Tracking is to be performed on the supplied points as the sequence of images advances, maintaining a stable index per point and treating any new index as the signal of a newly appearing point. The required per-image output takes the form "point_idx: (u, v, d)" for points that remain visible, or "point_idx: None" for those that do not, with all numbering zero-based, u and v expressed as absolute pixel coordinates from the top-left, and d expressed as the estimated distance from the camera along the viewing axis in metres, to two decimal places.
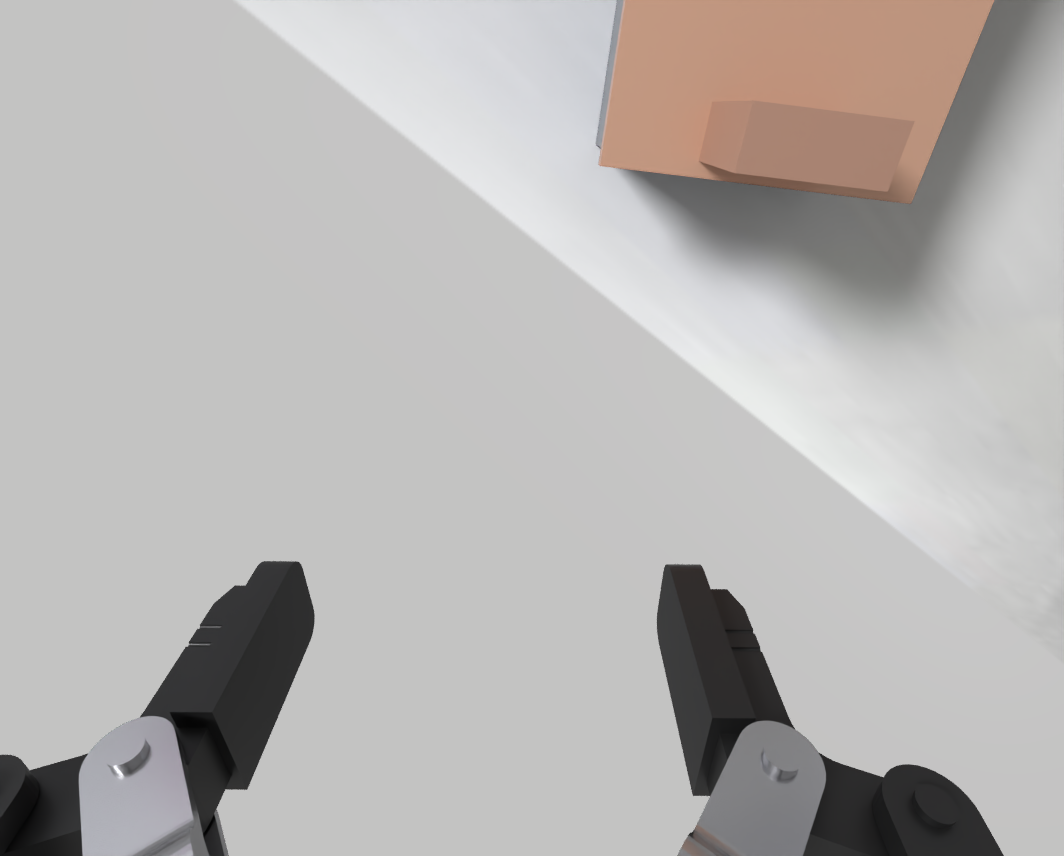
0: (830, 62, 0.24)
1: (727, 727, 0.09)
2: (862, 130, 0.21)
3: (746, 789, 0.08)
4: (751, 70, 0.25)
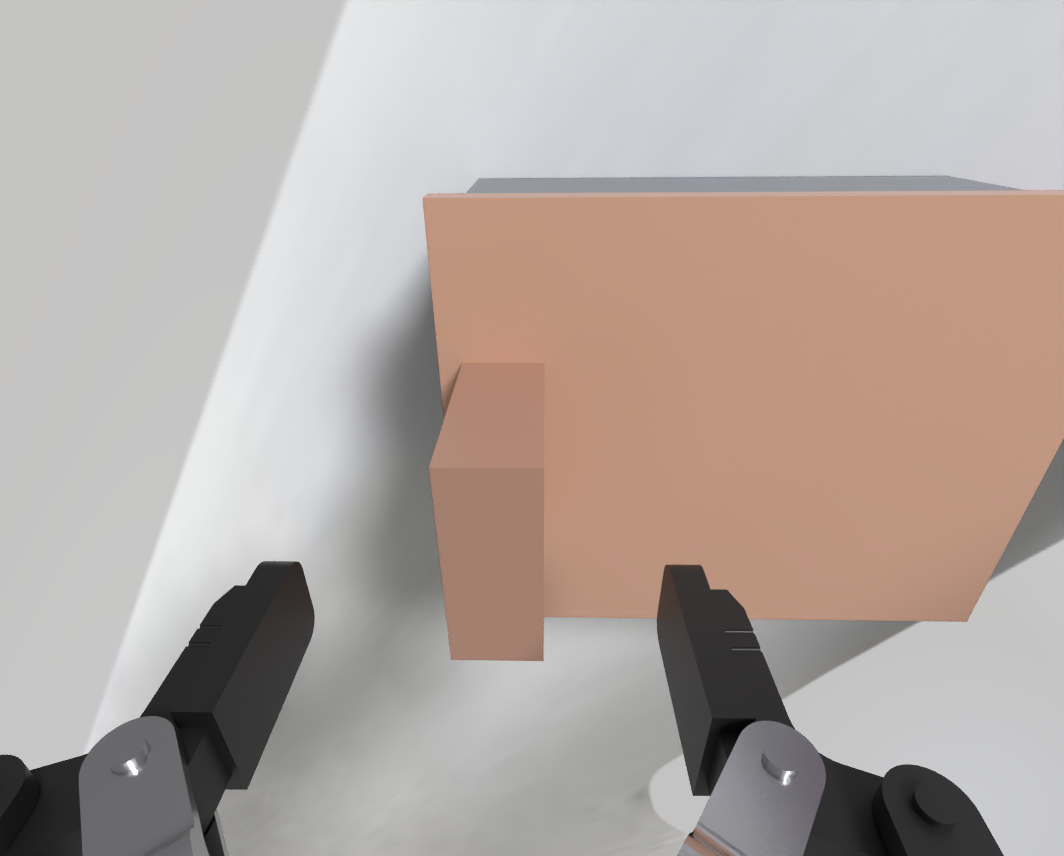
0: (604, 492, 0.19)
1: (727, 727, 0.09)
2: (522, 612, 0.14)
3: (746, 789, 0.08)
4: (588, 404, 0.17)
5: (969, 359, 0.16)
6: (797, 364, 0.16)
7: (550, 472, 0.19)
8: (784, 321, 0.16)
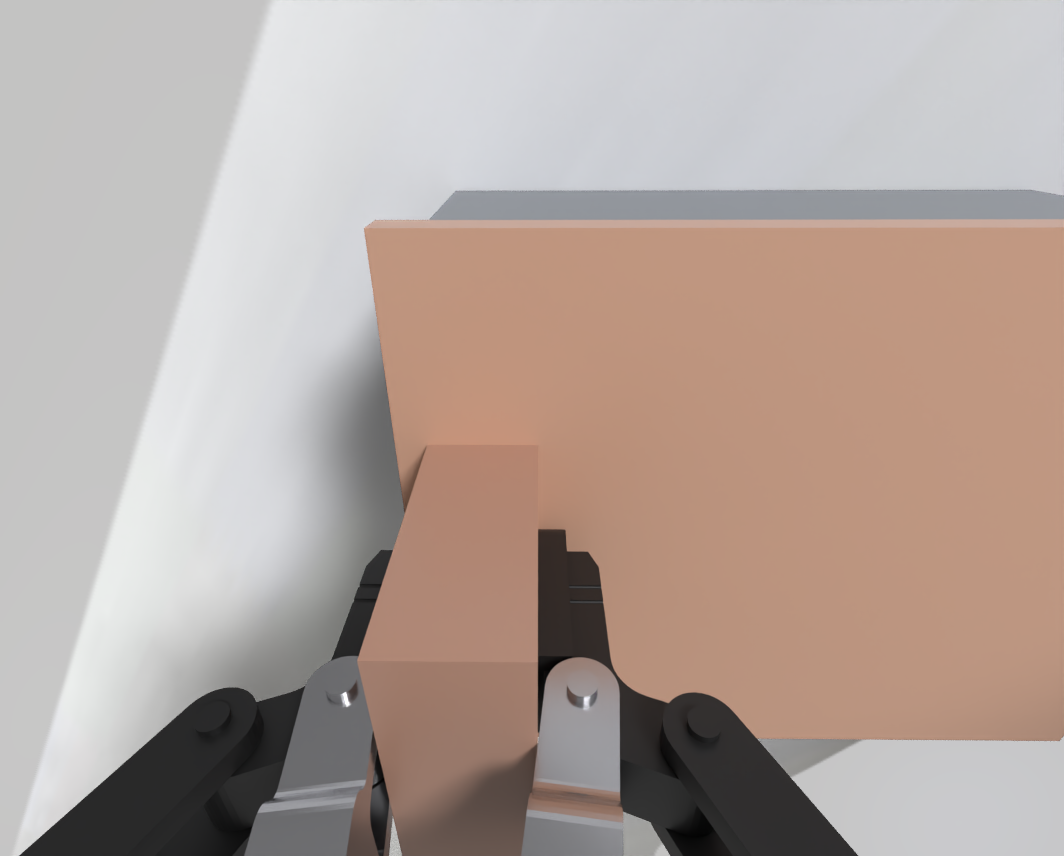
0: (615, 600, 0.15)
1: (549, 665, 0.10)
2: (507, 828, 0.10)
3: (544, 712, 0.09)
4: (596, 496, 0.13)
5: None
6: (876, 448, 0.12)
7: None
8: (864, 394, 0.12)
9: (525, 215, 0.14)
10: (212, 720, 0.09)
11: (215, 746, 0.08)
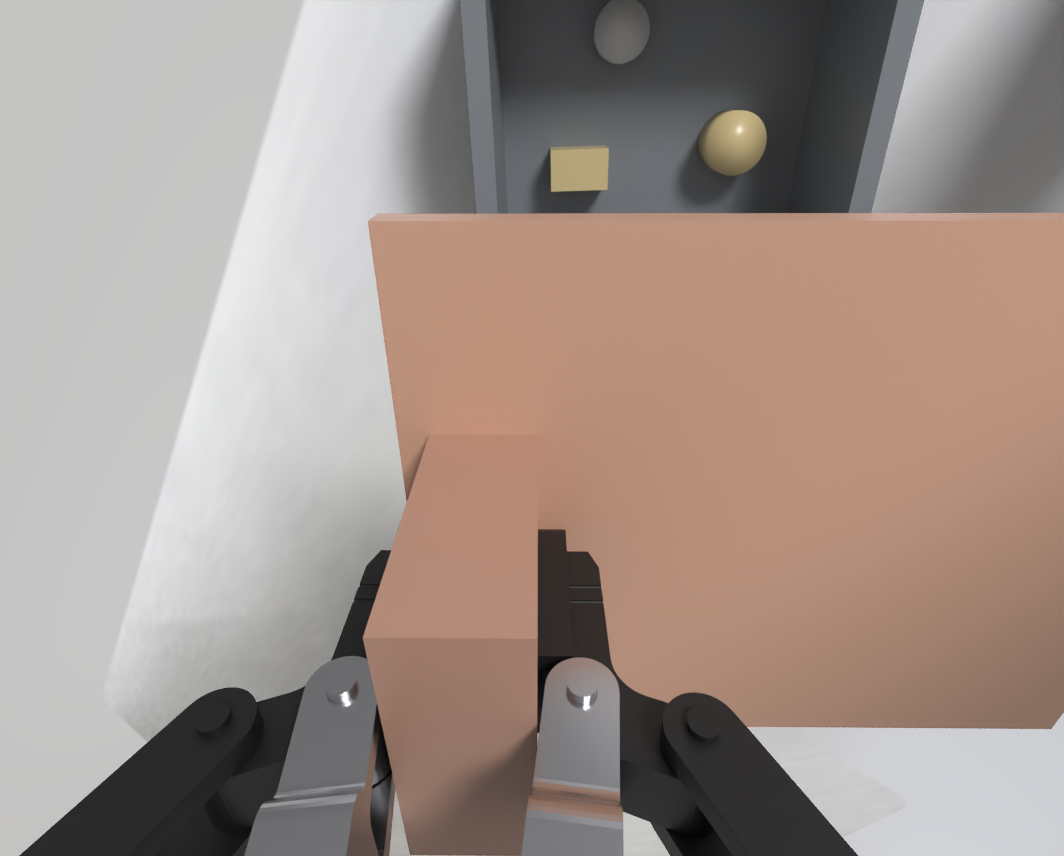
0: (613, 588, 0.15)
1: (549, 665, 0.10)
2: (507, 805, 0.10)
3: (544, 712, 0.09)
4: (595, 485, 0.13)
5: None
6: (869, 437, 0.13)
7: None
8: (856, 384, 0.12)
9: None
10: (212, 720, 0.09)
11: (215, 746, 0.08)
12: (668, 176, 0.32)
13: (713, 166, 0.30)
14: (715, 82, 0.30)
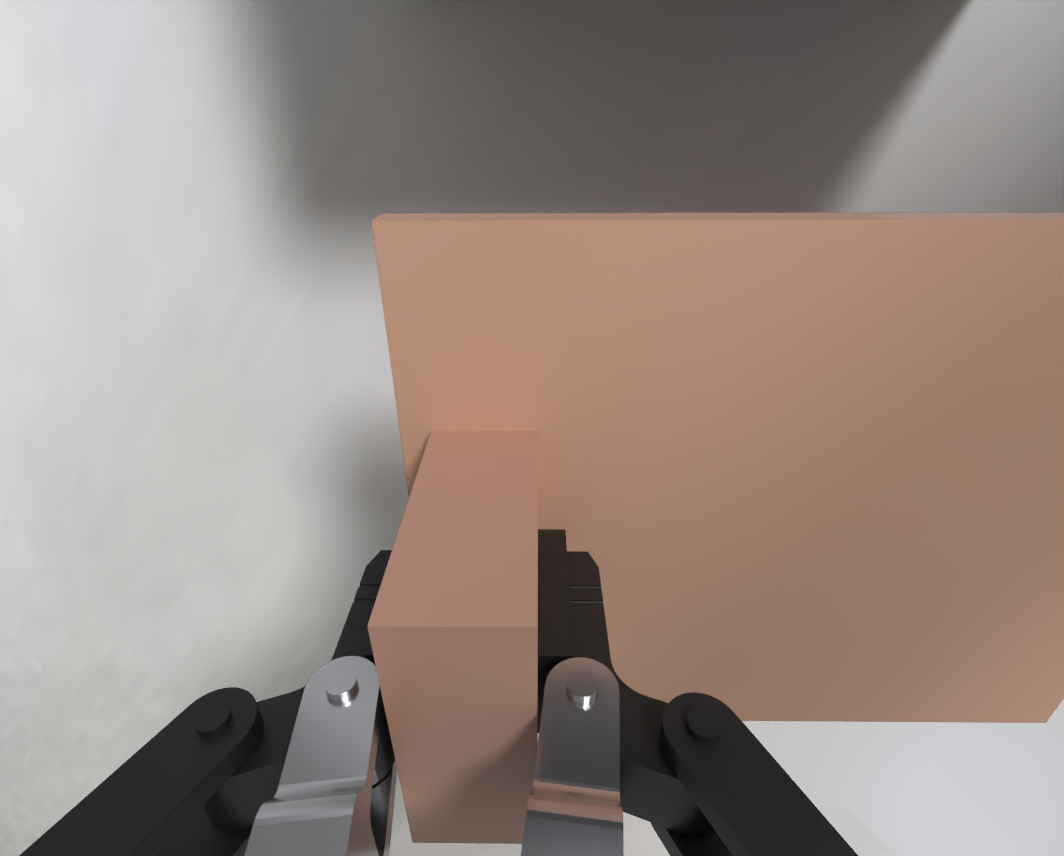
0: (612, 583, 0.15)
1: (549, 665, 0.10)
2: (508, 793, 0.10)
3: (544, 712, 0.09)
4: (594, 481, 0.13)
5: None
6: (864, 433, 0.13)
7: None
8: (851, 380, 0.12)
9: None
10: (212, 720, 0.09)
11: (215, 746, 0.08)
12: None
13: None
14: None
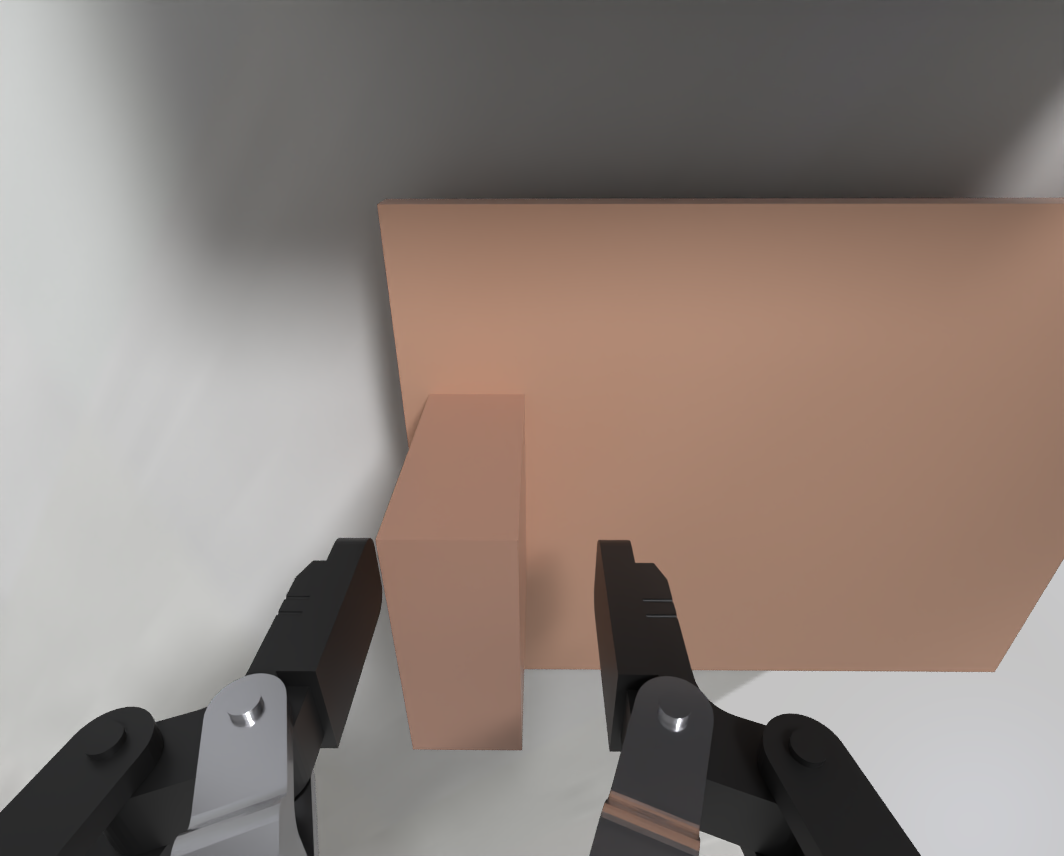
0: (594, 537, 0.17)
1: (633, 683, 0.10)
2: (496, 699, 0.12)
3: (638, 735, 0.09)
4: (575, 440, 0.15)
5: (1011, 390, 0.14)
6: (814, 396, 0.14)
7: (533, 516, 0.16)
8: (801, 348, 0.14)
9: None
10: (105, 740, 0.08)
11: (105, 769, 0.08)
12: None
13: None
14: None
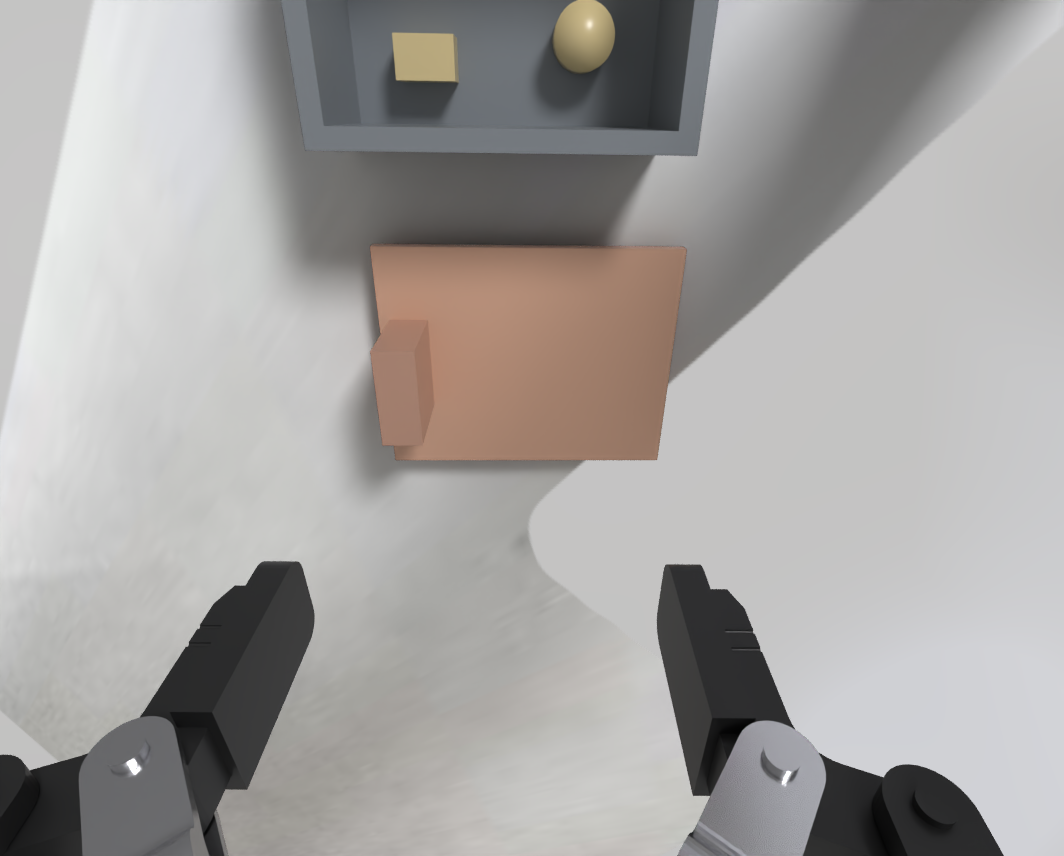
0: (462, 386, 0.39)
1: (727, 727, 0.09)
2: (411, 419, 0.33)
3: (746, 789, 0.08)
4: (450, 340, 0.37)
5: (618, 319, 0.36)
6: (542, 321, 0.36)
7: (435, 376, 0.38)
8: (532, 301, 0.36)
9: None
10: None
11: None
12: (524, 76, 0.31)
13: (563, 60, 0.29)
14: None
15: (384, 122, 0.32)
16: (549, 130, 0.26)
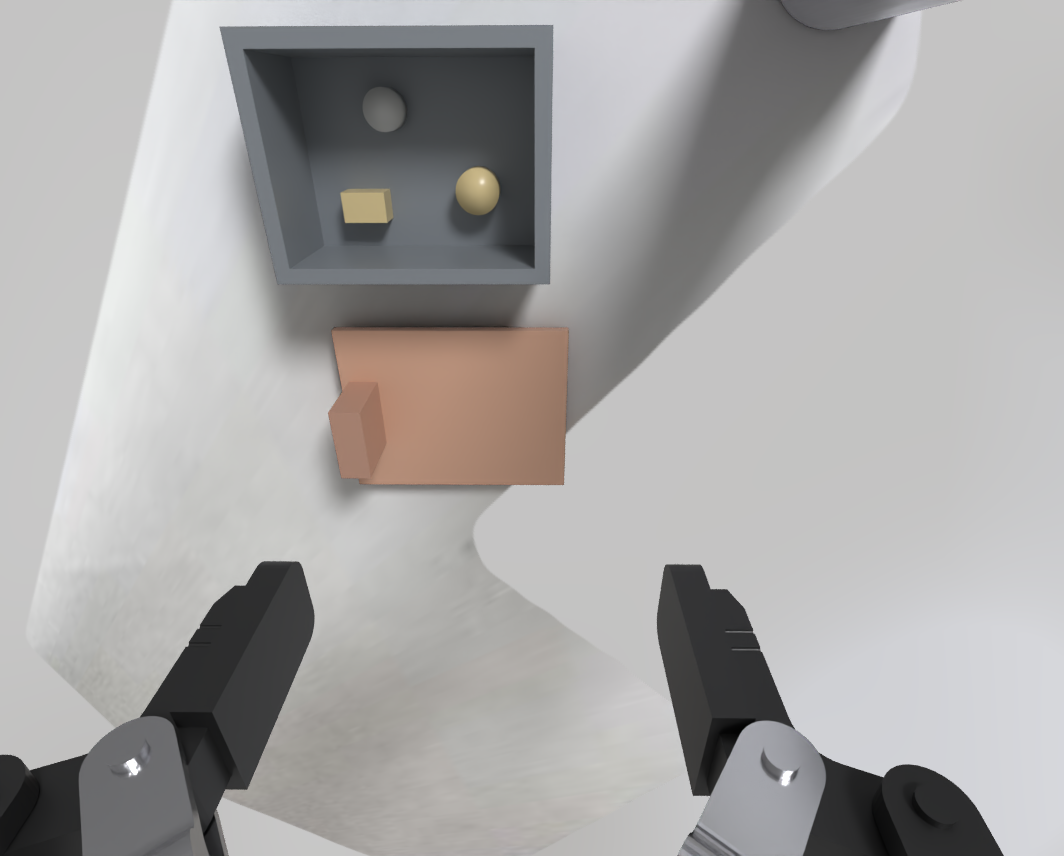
0: (407, 429, 0.50)
1: (727, 727, 0.09)
2: (361, 460, 0.45)
3: (746, 789, 0.08)
4: (395, 396, 0.49)
5: (522, 380, 0.48)
6: (464, 382, 0.48)
7: (385, 422, 0.50)
8: (455, 368, 0.47)
9: None
10: None
11: None
12: (441, 212, 0.42)
13: (463, 208, 0.40)
14: (464, 146, 0.40)
15: (341, 244, 0.43)
16: (444, 269, 0.37)
